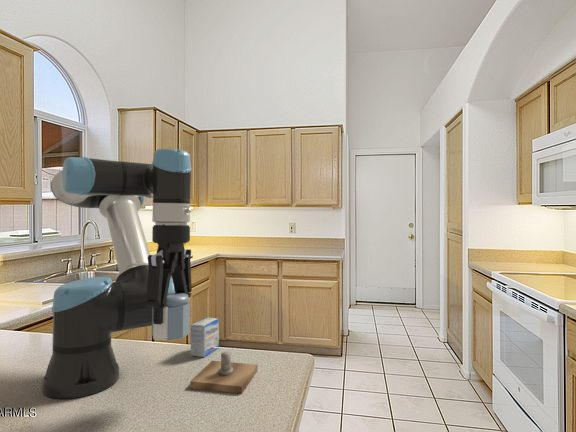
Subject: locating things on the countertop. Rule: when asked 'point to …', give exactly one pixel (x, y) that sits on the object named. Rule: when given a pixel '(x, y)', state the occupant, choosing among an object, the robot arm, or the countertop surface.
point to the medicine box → (204, 337)
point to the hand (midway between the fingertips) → (170, 332)
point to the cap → (177, 315)
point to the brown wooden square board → (224, 375)
